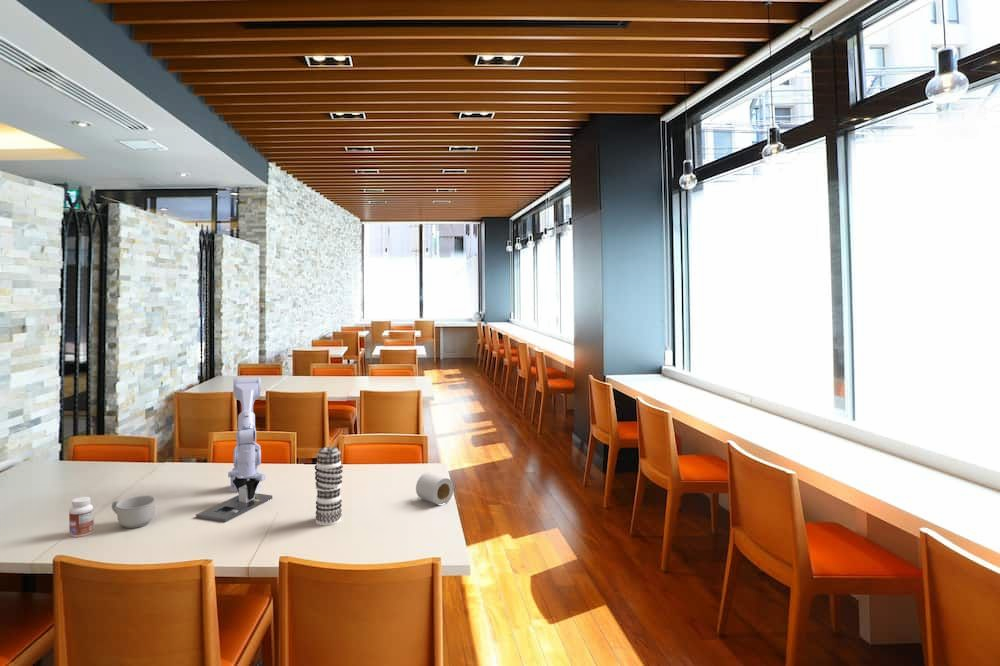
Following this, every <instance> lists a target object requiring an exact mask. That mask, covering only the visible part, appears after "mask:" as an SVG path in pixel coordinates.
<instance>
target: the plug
mask: <svg viewBox="0 0 1000 666" xmlns="http://www.w3.org/2000/svg"><path fill="white" fill-rule="evenodd" d="M238 495H239V502H244V503H247V502H249V501H251V500H253V499H255V494H254V498H252V499H250V500H249V499H248V490H247V486H246V485H244V486H242V487H240V488H239V493H238Z"/></svg>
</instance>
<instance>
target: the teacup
mask: <svg viewBox="0 0 1000 666" xmlns="http://www.w3.org/2000/svg"><path fill="white" fill-rule="evenodd" d="M111 510H112V511H113V512H114V513H115V514H116V515H117V521H118V524H119V525H121V526H123V527H124V528H127V529H136V528H140V527H141V528H142V527H143V526H146V525H147V524H149V523H150V522H151V521H152V520H153V519H154V517H155V513H156V498H155V496H152V495H142V494H141V495H134V496H131V497H128V498H124V499H122V500H120V499H116V500H114V501H112V504H111Z"/></svg>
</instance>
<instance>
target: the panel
mask: <svg viewBox="0 0 1000 666" xmlns="http://www.w3.org/2000/svg"><path fill="white" fill-rule="evenodd" d="M270 499H271V500H273V495H271V494H264V493H257V492H255V499H253V500H251V501H249V502H247V503H244V502H239V494H237V495H236V496H233V497H231V498H229V499H226V500H225V501H223V502H221V503H218V504H216V505H213V506H211V507H209V508H207V509H205V510H202V511H200V512H198V513H196V514H195V518H196V519H201V520H206V521H214V522H220V523H227V522H229V521H231V520H234V519H235V518H237V517H240V516H242V515H243V514H245V513H247V512H249V511H251V510H253V509H255V508H257V507H259V506H260V505H263V504H265V503H267V502H269V501H271V500H270ZM268 500H269V501H268Z"/></svg>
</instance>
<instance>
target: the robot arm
mask: <svg viewBox="0 0 1000 666" xmlns="http://www.w3.org/2000/svg"><path fill="white" fill-rule="evenodd" d="M261 379H262V378H261V377H259V376H257V377H234V379H233V386H232V387H233V397H234V399H235V400H238V401H239V402H240V405H241V412H240V413H239V414H238V415H237V416H238V418H237V419H238V421H237V431H236V435H235V436H236V445H235V447H234V448H233V468H232V469H231V470H230V471H228V472H227V473H228V474H227V477H228V478H230V488H229V489H228V491H229V492H237V493H238V494H239V488H240V487H242V486H244V485H246V486H247V490H248V499H249V500H250V499H252V498H254V494H255V493H256V491H257V489H258V490H260V489H261V487H262V488H263V485H259V484H260V482H263V481H265V480H266V474H263V473H260V472H258V468H259V466H261V464H262V449H261V445H260V444H258V443H257V429H256V414H255V412H254V403H255V401H256V400H258V399H260V398H261V397H260V396H261V391H262V390H261V389H262V388H261V383H262V382H261ZM259 488H260V489H259Z"/></svg>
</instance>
